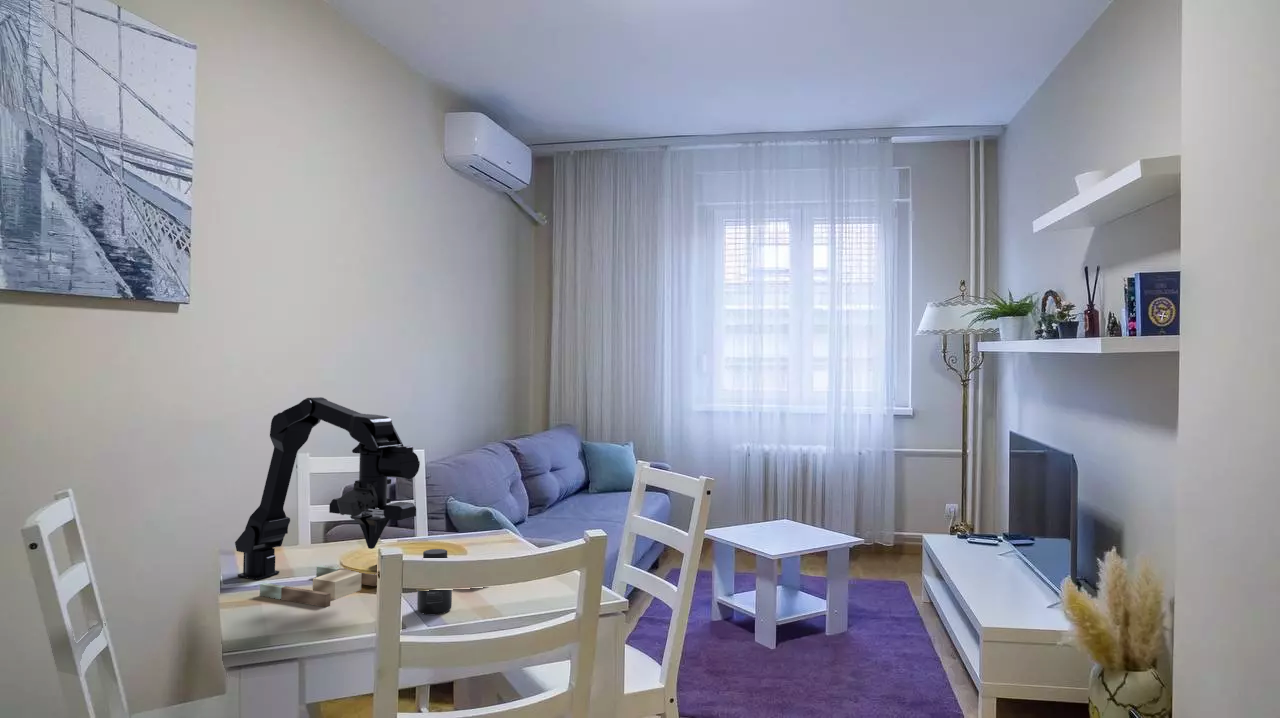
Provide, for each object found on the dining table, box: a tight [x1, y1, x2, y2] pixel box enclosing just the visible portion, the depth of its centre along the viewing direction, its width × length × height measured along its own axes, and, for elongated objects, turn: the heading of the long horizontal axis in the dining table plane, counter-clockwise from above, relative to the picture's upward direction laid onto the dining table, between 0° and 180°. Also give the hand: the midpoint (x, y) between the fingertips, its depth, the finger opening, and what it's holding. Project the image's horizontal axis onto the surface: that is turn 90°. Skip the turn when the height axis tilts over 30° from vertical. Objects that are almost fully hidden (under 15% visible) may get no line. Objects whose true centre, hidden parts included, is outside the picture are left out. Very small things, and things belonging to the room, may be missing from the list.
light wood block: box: [312, 570, 362, 600], centre depth 166 cm, size 6×8×4 cm
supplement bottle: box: [416, 548, 453, 615], centre depth 156 cm, size 7×7×12 cm
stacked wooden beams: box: [259, 565, 377, 608], centre depth 168 cm, size 18×17×2 cm
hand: (371, 548), depth 163 cm, fingers closed
